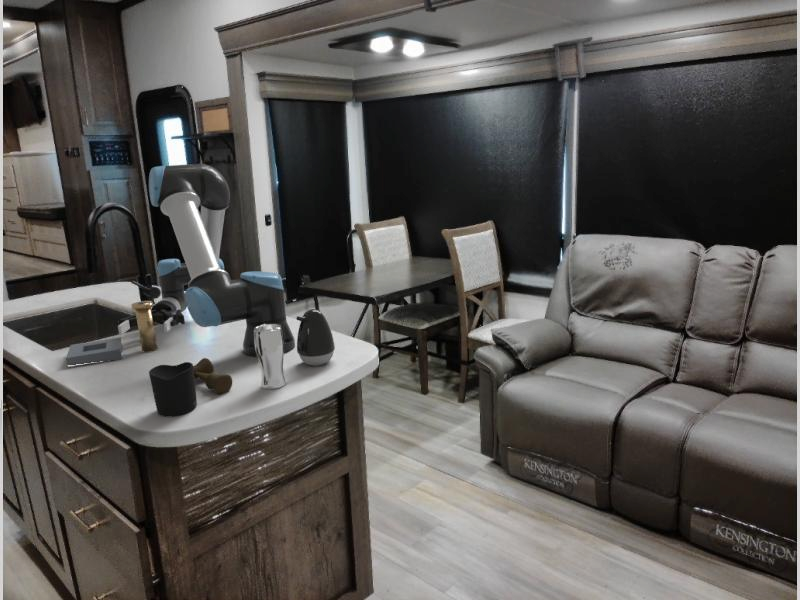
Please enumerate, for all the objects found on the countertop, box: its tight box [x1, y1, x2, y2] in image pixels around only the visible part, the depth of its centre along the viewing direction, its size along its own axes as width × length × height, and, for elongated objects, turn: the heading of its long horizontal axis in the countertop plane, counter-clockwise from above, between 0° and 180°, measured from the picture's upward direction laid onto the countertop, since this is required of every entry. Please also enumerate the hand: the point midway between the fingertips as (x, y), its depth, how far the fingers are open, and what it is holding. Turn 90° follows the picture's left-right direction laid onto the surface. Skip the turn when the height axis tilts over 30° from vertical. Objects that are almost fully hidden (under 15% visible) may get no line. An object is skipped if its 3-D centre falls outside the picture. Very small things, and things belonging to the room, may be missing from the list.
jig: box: [65, 336, 123, 366], centre depth 177 cm, size 14×14×3 cm
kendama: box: [193, 357, 233, 395], centre depth 149 cm, size 6×10×20 cm
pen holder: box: [148, 361, 198, 417], centre depth 135 cm, size 9×9×10 cm
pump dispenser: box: [296, 308, 336, 367], centre depth 160 cm, size 10×10×15 cm
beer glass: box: [254, 324, 287, 390], centre depth 146 cm, size 7×7×15 cm
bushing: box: [131, 300, 158, 353], centre depth 180 cm, size 6×6×15 cm
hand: (142, 328), depth 177 cm, fingers open, 13 cm apart
